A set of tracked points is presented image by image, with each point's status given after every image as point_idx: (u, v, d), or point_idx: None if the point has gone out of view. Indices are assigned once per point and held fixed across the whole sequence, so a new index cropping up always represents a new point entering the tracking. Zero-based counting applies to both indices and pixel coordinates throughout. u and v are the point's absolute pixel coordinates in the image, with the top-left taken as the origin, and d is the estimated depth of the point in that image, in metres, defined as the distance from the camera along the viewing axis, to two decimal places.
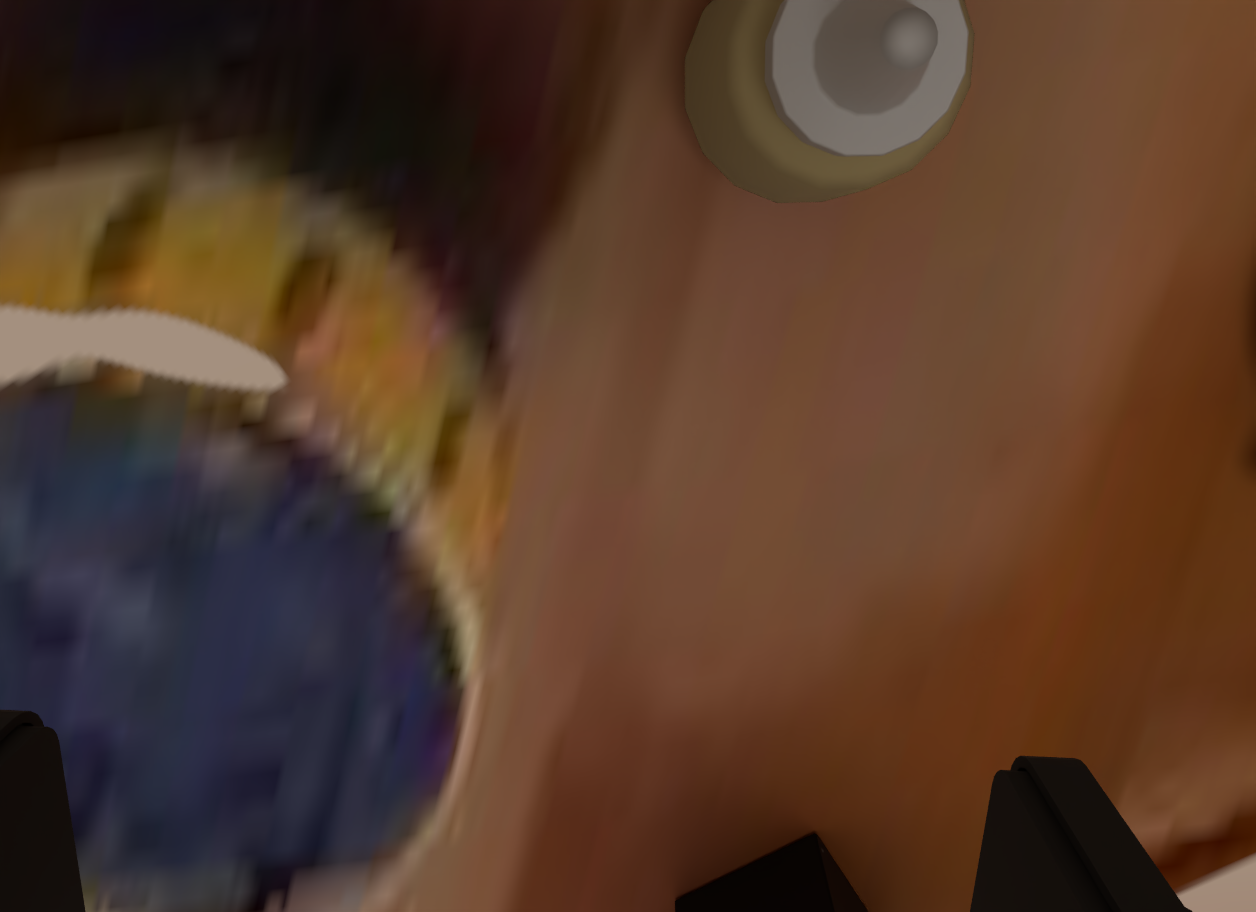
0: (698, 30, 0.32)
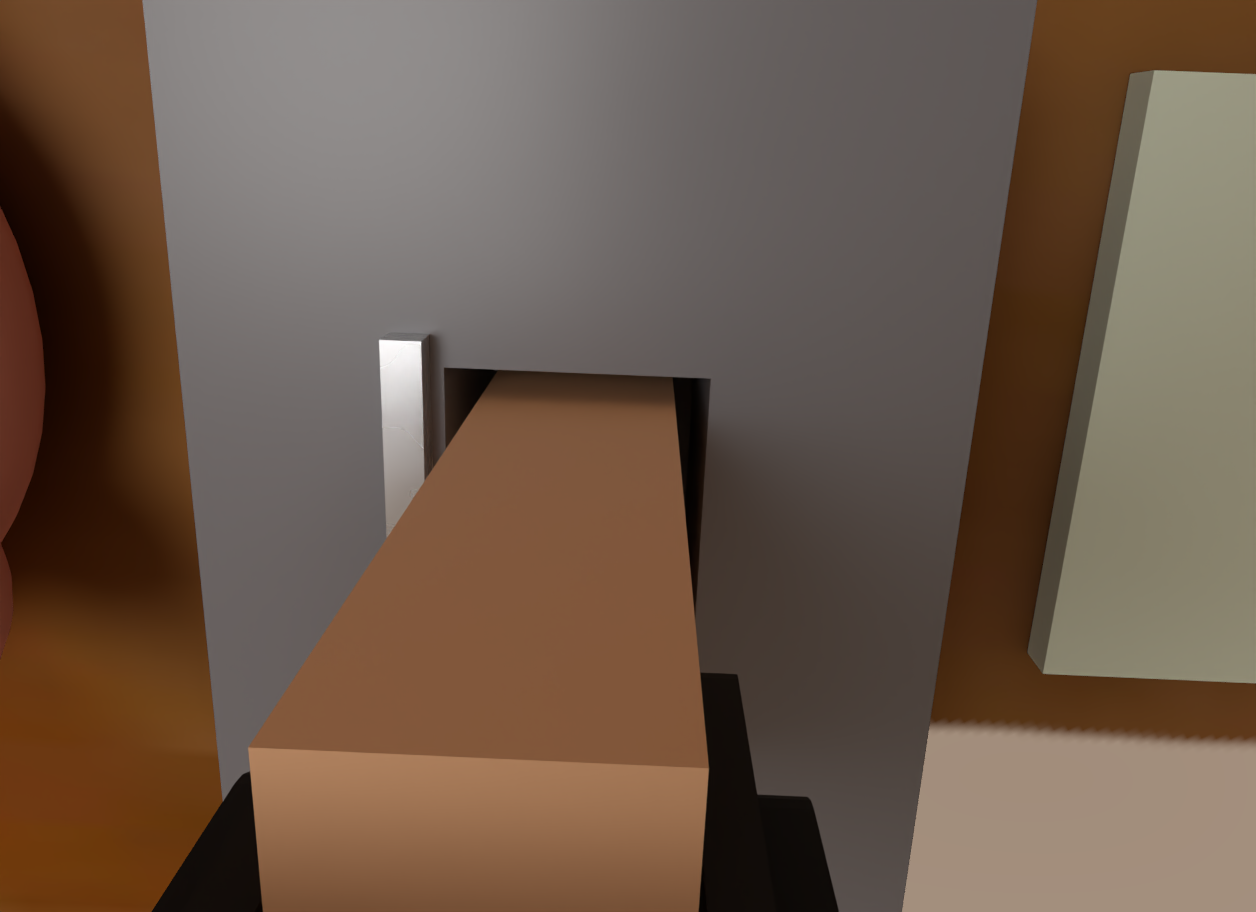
0: None
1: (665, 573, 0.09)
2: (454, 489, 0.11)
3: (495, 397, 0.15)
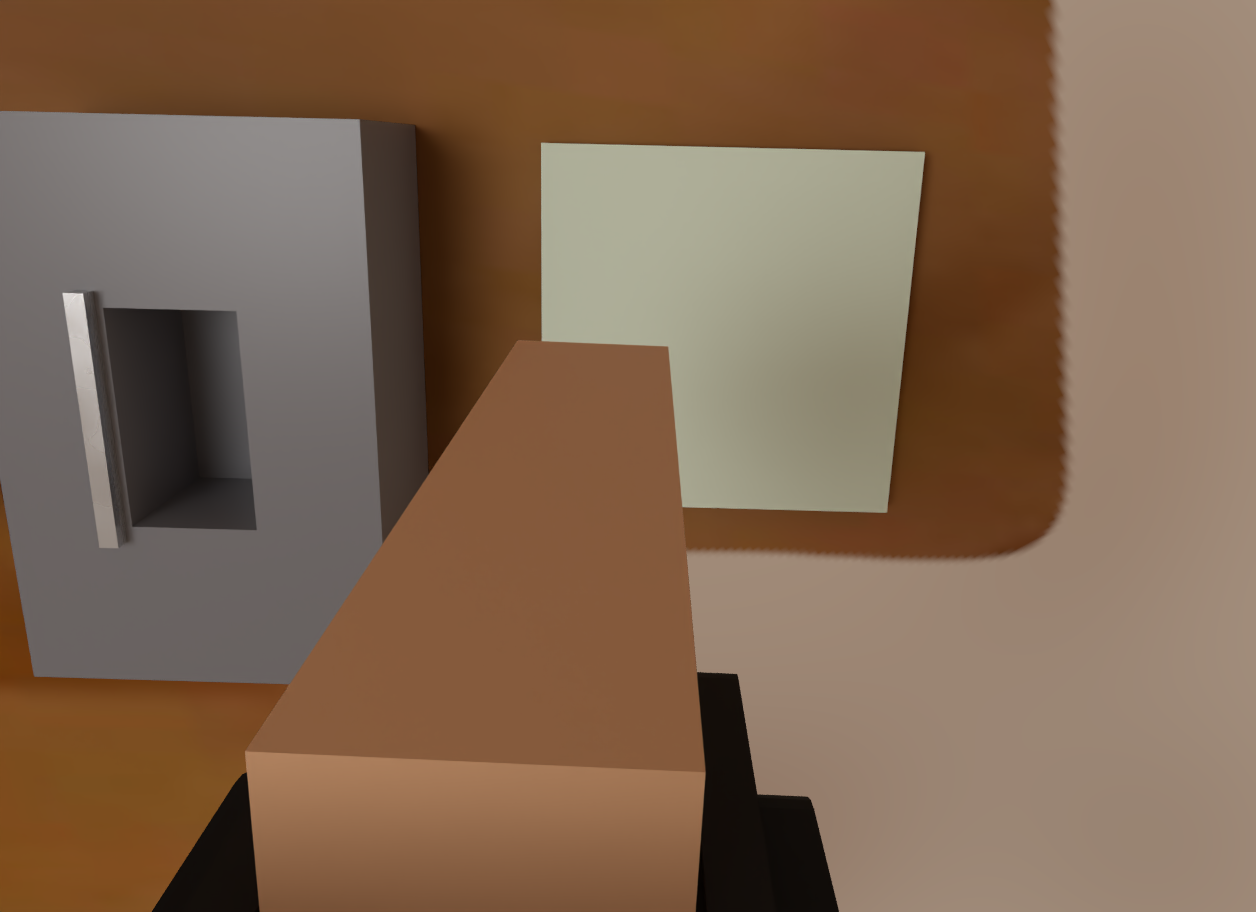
0: None
1: (663, 575, 0.09)
2: (452, 491, 0.11)
3: (493, 399, 0.15)
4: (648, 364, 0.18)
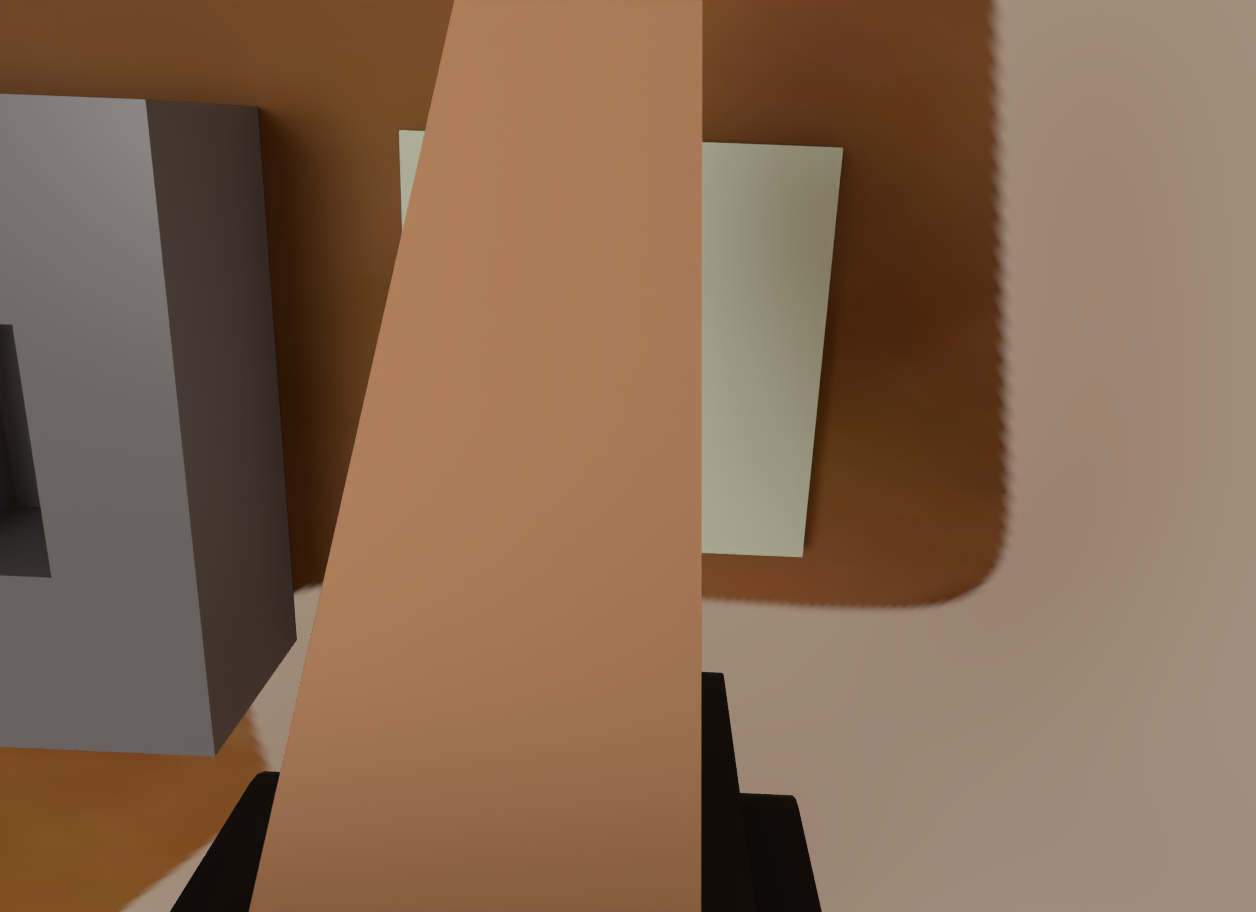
0: None
1: (670, 629, 0.08)
2: (408, 404, 0.09)
3: (453, 96, 0.11)
4: None
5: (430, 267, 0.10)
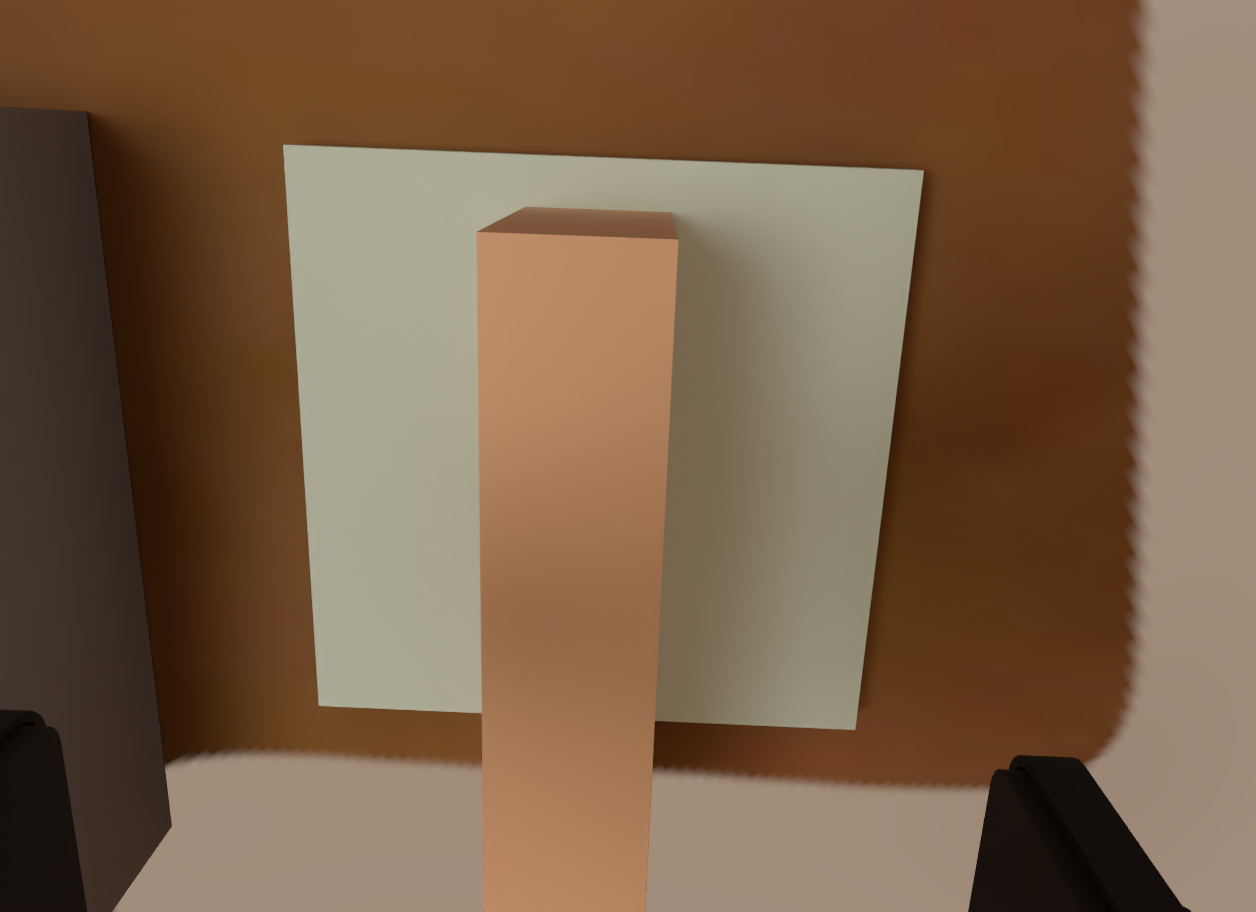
0: None
1: (635, 854, 0.18)
2: (504, 751, 0.17)
3: (494, 528, 0.16)
4: (647, 354, 0.15)
5: (501, 668, 0.17)
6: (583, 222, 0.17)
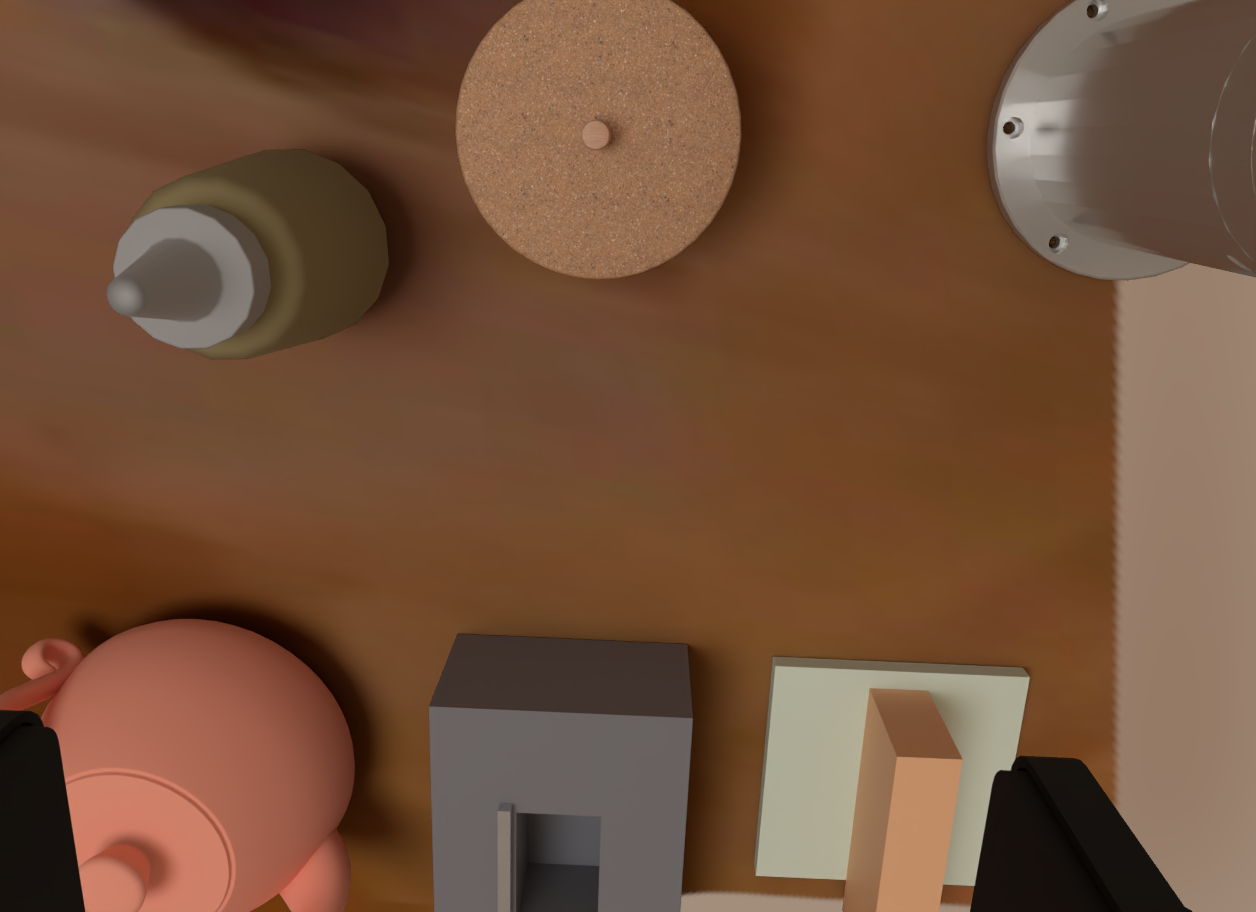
0: (314, 159, 0.41)
1: None
2: None
3: (890, 843, 0.47)
4: (949, 791, 0.46)
5: (886, 887, 0.48)
6: (914, 728, 0.48)
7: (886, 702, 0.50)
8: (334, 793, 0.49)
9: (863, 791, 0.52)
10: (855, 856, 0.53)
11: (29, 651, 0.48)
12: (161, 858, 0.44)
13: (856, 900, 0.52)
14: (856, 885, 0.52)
